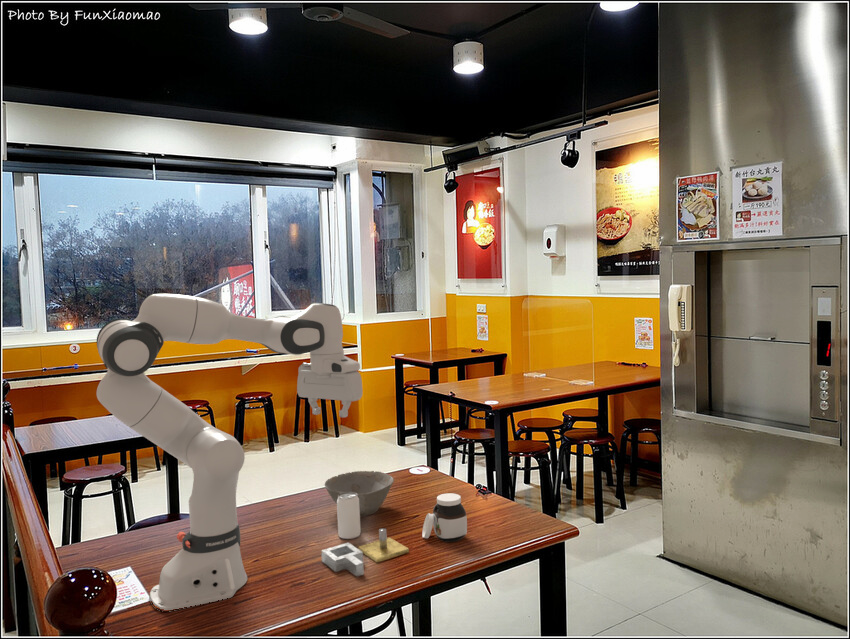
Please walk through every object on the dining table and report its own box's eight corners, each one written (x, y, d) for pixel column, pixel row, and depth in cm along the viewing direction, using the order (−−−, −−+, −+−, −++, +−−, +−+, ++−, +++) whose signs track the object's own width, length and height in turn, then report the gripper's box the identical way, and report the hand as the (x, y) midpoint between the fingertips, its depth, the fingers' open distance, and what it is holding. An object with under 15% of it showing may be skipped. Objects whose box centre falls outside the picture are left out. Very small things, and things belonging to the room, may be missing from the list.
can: (356, 540, 180) (354, 499, 180) (335, 539, 182) (333, 498, 181) (363, 531, 187) (361, 491, 186) (342, 530, 188) (340, 491, 187)
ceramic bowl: (342, 530, 188) (340, 497, 187) (316, 508, 208) (314, 478, 207) (408, 514, 199) (406, 483, 198) (377, 495, 219) (375, 466, 218)
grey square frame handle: (374, 570, 160) (373, 559, 160) (346, 580, 156) (345, 568, 156) (348, 553, 172) (348, 542, 171) (322, 561, 167) (321, 550, 167)
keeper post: (376, 562, 165) (375, 540, 165) (358, 550, 173) (357, 528, 173) (408, 552, 171) (407, 530, 170) (389, 540, 179) (388, 519, 179)
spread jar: (471, 539, 177) (470, 499, 177) (437, 549, 172) (435, 507, 171) (448, 526, 188) (446, 488, 187) (415, 535, 182) (413, 496, 181)
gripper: (290, 364, 170) (293, 414, 171) (349, 366, 159) (351, 420, 160) (306, 361, 175) (309, 410, 176) (364, 363, 164) (367, 416, 165)
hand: (330, 415), depth 168 cm, fingers open, 8 cm apart
